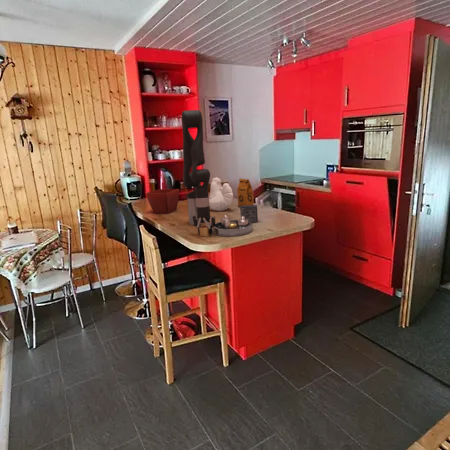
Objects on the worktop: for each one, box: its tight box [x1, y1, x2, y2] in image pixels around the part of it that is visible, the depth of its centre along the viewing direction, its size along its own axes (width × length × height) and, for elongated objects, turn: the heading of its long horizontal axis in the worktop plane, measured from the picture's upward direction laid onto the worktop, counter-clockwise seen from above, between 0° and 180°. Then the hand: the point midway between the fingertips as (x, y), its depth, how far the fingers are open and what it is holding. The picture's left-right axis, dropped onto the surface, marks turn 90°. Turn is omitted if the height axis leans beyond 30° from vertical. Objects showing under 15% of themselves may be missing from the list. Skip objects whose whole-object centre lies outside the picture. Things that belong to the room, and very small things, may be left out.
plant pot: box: [145, 188, 180, 214], centre depth 265 cm, size 19×19×17 cm
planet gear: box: [199, 224, 211, 237], centre depth 194 cm, size 6×6×5 cm
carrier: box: [212, 215, 253, 238], centre depth 198 cm, size 23×23×8 cm
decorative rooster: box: [208, 177, 234, 212], centre depth 255 cm, size 25×16×25 cm, turn 26°
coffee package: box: [236, 178, 255, 208], centre depth 263 cm, size 10×12×22 cm
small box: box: [239, 204, 259, 224], centre depth 217 cm, size 11×6×10 cm, turn 81°
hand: (205, 233), depth 194 cm, fingers closed on planet gear, 6 cm apart
